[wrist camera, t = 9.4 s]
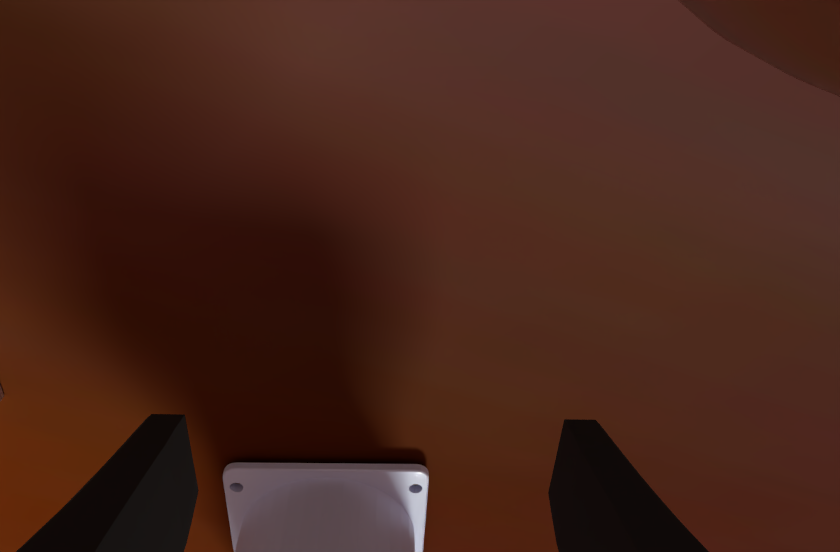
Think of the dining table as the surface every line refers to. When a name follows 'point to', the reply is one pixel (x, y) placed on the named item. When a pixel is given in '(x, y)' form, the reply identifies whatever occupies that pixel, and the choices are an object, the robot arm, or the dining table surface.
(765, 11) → the beer glass
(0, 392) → the door track
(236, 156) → the dining table surface
